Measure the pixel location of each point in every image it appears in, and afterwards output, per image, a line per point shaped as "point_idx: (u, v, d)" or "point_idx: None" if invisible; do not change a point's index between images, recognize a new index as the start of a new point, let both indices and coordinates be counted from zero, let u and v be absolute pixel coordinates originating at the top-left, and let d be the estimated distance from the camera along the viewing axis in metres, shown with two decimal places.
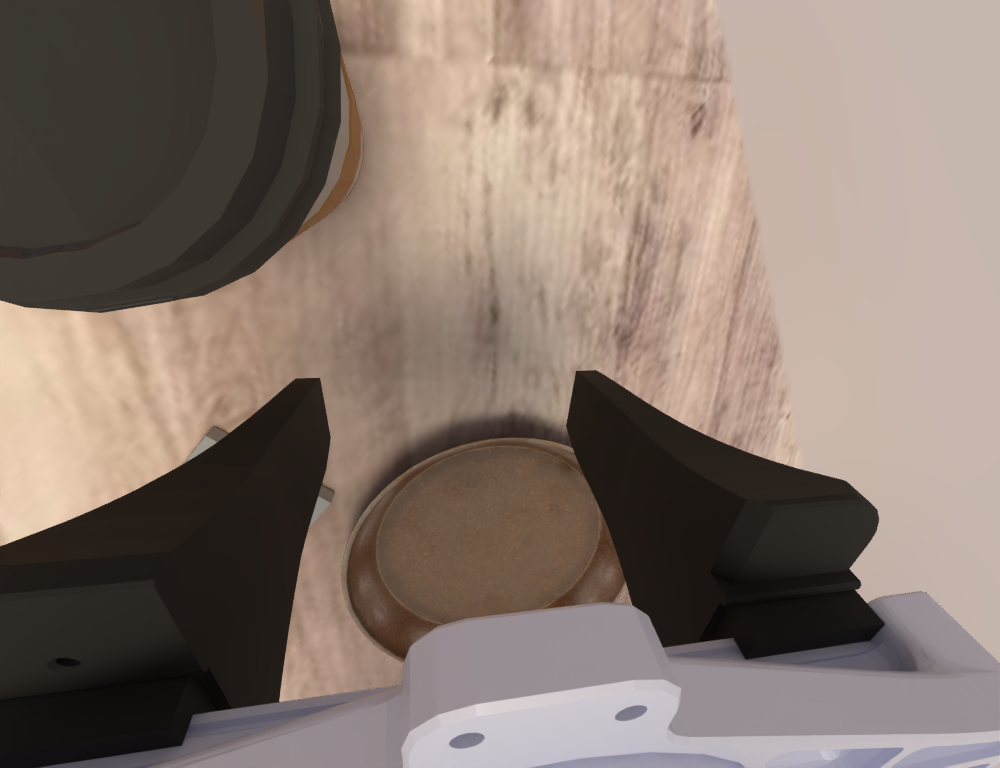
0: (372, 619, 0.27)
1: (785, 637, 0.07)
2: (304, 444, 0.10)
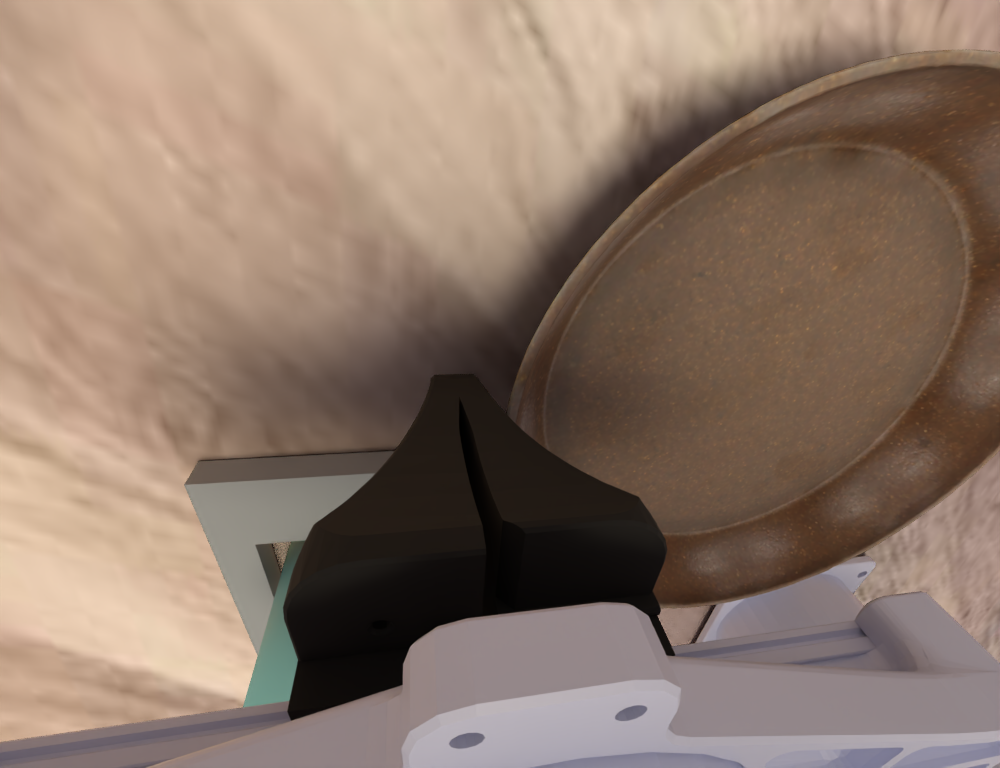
0: None
1: None
2: None
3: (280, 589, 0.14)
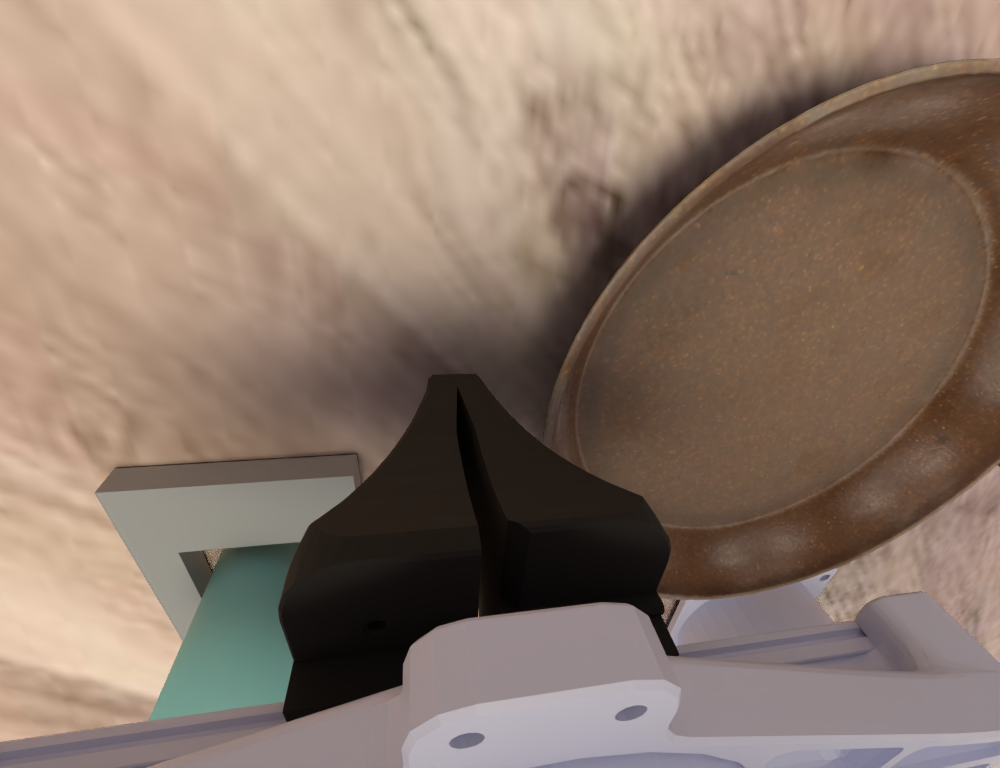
0: None
1: None
2: None
3: (203, 598, 0.14)
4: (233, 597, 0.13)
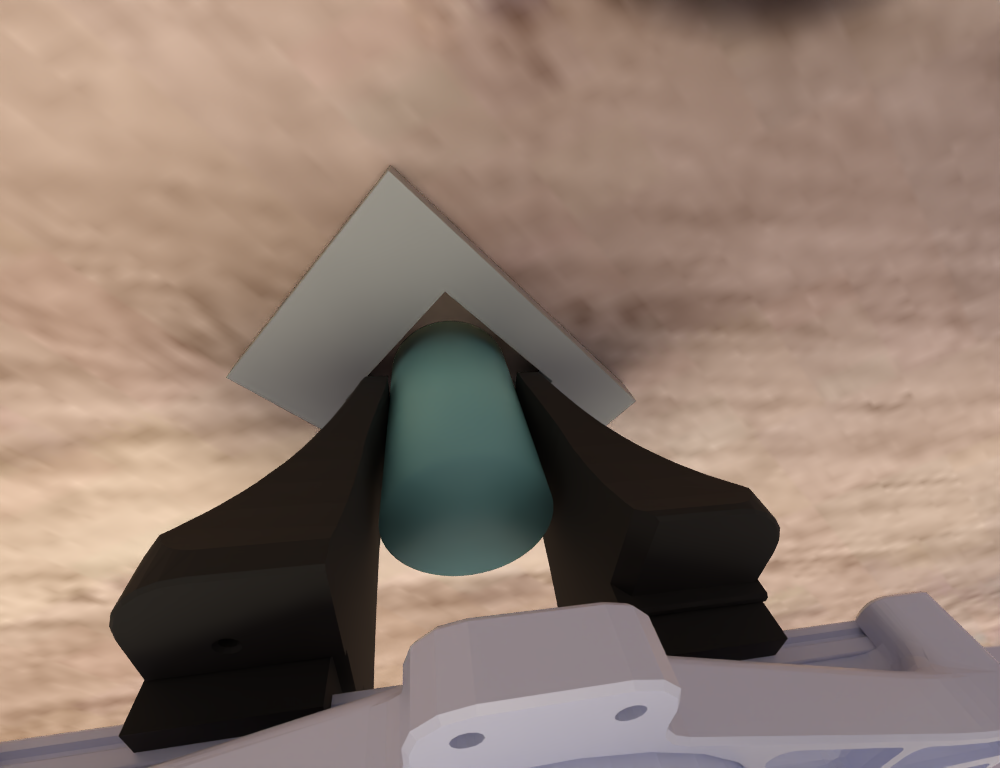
0: None
1: (680, 653, 0.06)
2: (381, 440, 0.10)
3: None
4: (398, 390, 0.11)
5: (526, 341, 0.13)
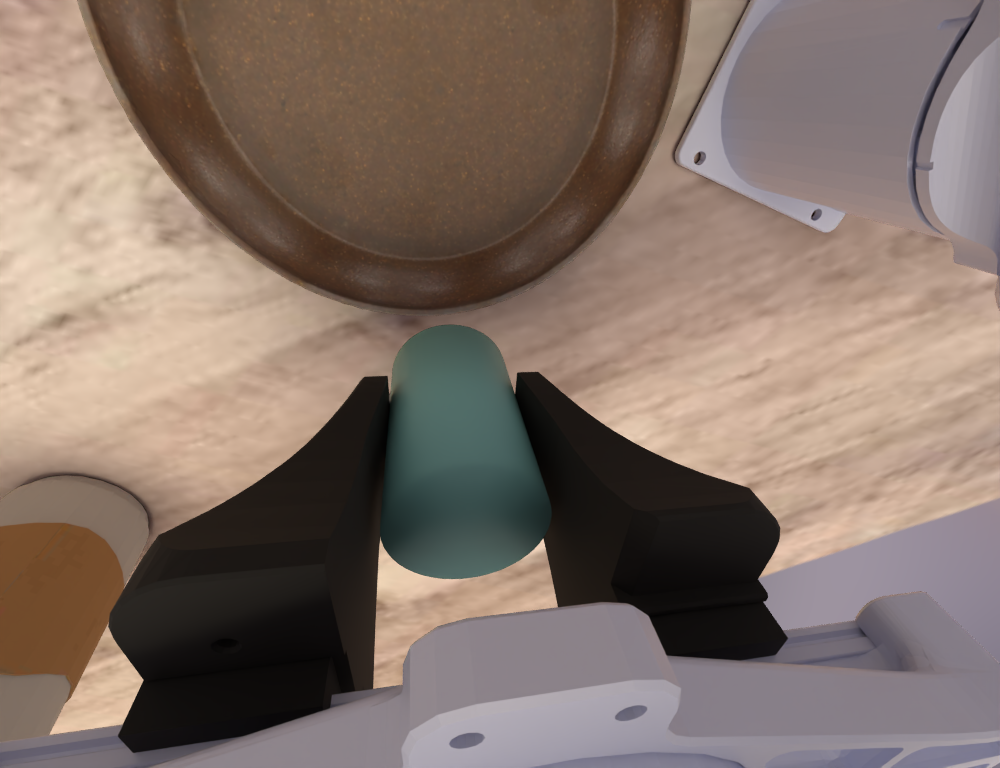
0: (569, 237, 0.18)
1: (680, 652, 0.06)
2: (381, 440, 0.10)
3: None
4: (398, 396, 0.11)
5: None
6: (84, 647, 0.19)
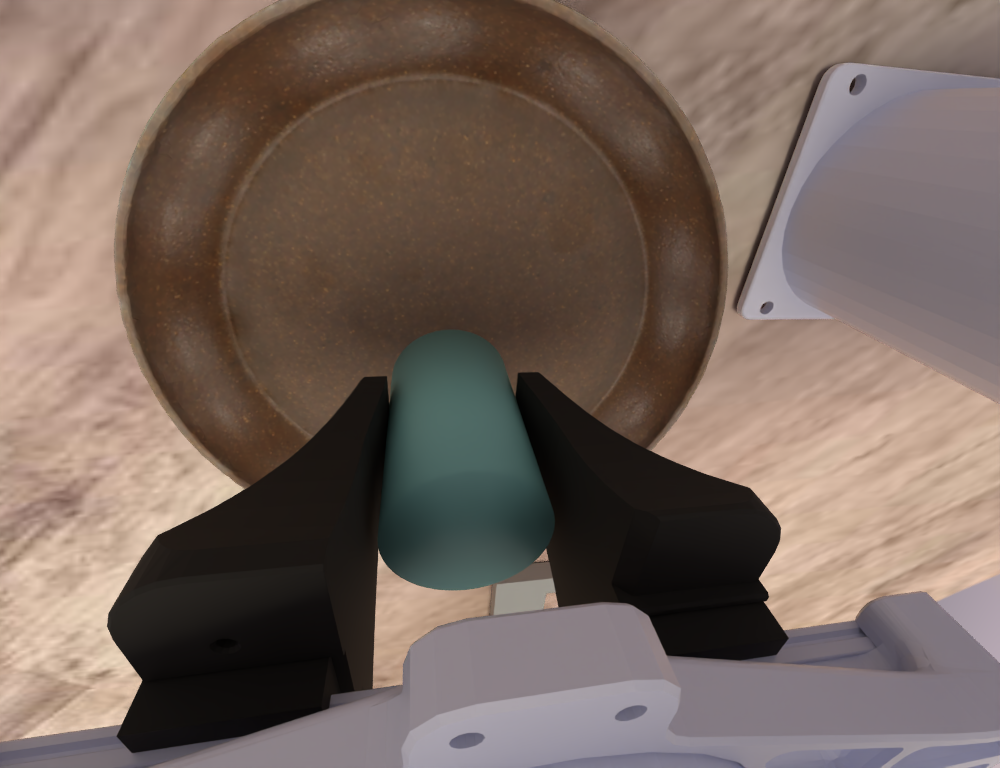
0: (640, 427, 0.17)
1: (681, 652, 0.06)
2: (380, 440, 0.10)
3: None
4: (395, 405, 0.11)
5: None
6: None
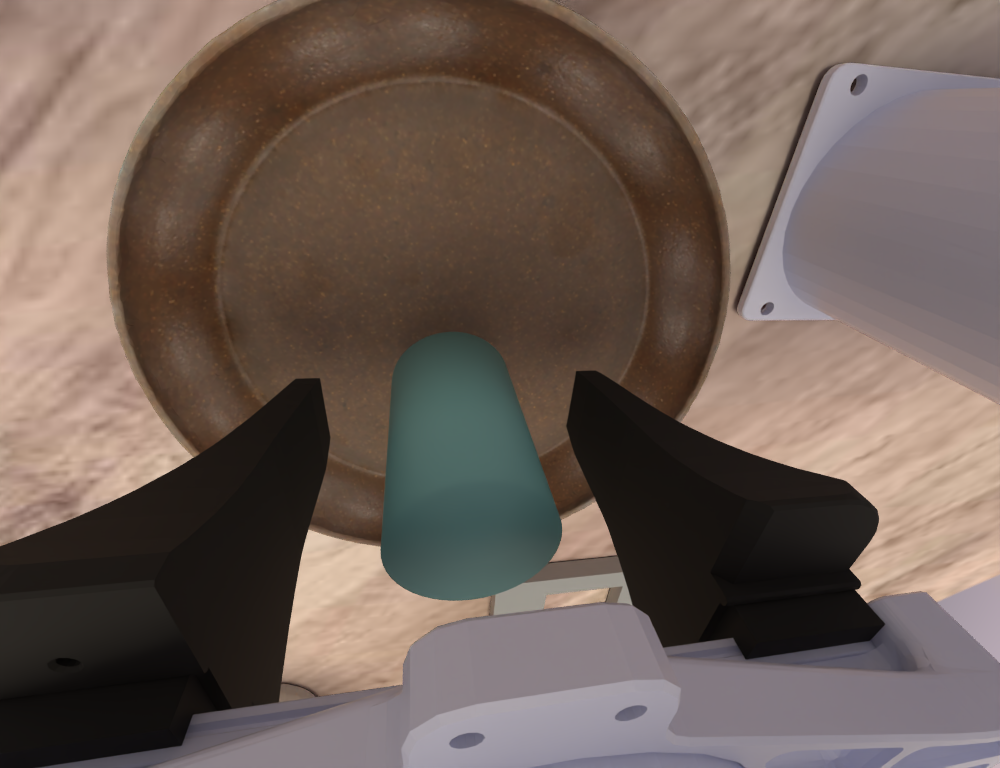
0: None
1: (785, 637, 0.07)
2: (304, 444, 0.10)
3: None
4: (396, 410, 0.11)
5: (596, 585, 0.24)
6: None
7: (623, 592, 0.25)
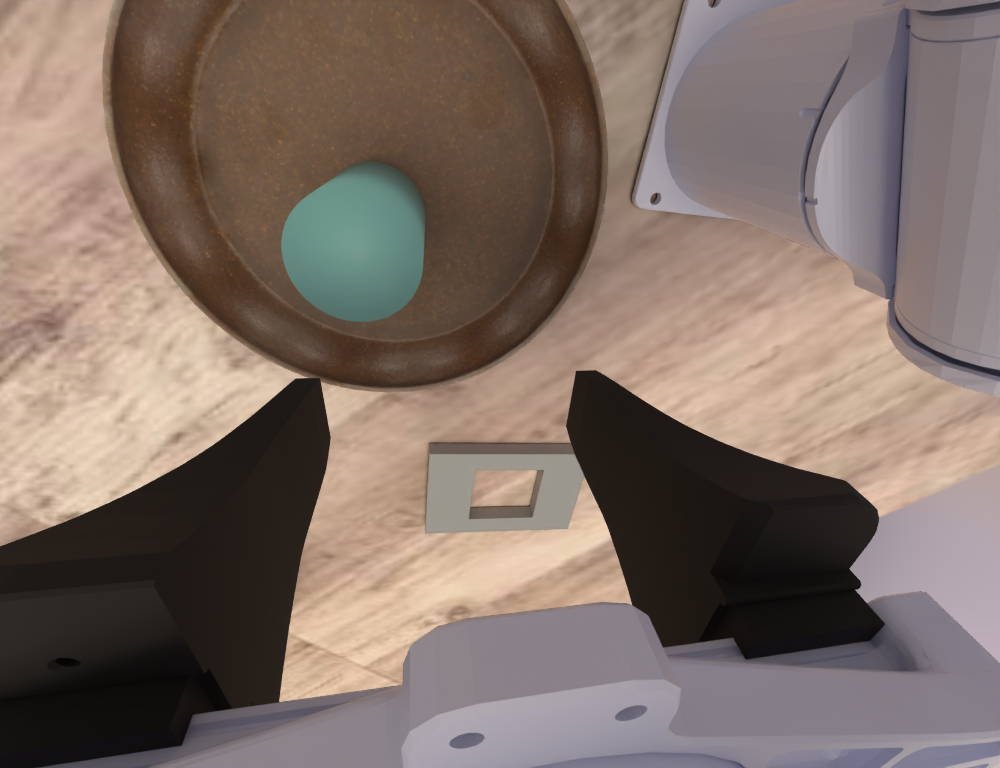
0: (547, 298, 0.20)
1: (785, 637, 0.07)
2: (304, 444, 0.10)
3: None
4: None
5: (519, 465, 0.27)
6: None
7: (545, 477, 0.28)
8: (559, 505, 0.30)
